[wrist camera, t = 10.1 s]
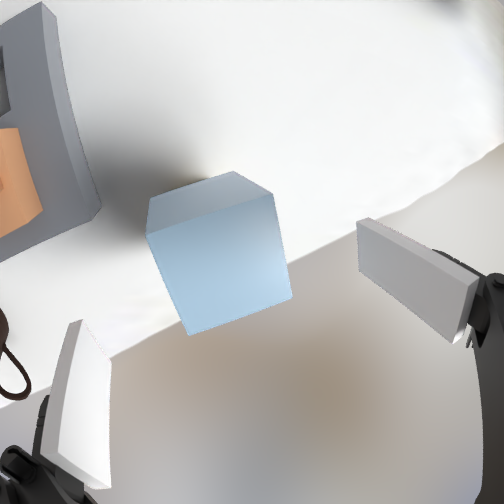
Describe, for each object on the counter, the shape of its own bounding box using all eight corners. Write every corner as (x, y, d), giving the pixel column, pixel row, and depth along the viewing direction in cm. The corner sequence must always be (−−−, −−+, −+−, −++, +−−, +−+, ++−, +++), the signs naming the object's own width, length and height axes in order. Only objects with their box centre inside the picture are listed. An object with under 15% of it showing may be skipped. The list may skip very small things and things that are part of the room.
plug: (222, 164, 23) (272, 193, 13) (238, 229, 26) (292, 298, 16) (151, 187, 22) (144, 235, 12) (174, 251, 25) (188, 336, 15)
